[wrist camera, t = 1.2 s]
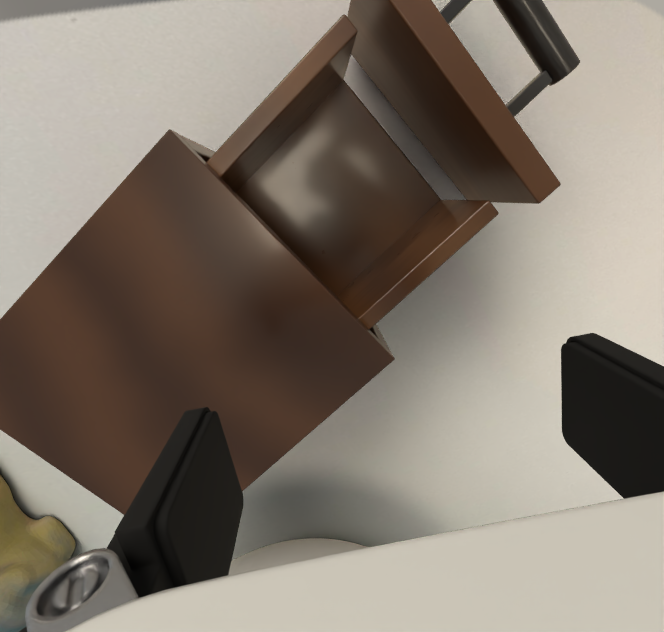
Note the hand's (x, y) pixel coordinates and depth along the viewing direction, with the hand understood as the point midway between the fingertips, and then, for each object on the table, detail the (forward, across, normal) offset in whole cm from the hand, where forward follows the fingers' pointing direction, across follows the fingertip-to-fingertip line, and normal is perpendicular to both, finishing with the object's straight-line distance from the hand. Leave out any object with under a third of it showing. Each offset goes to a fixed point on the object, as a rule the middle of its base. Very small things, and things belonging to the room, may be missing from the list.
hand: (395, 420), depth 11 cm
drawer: (+16, -3, -7) cm, 18 cm away
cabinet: (+17, +8, 0) cm, 19 cm away
